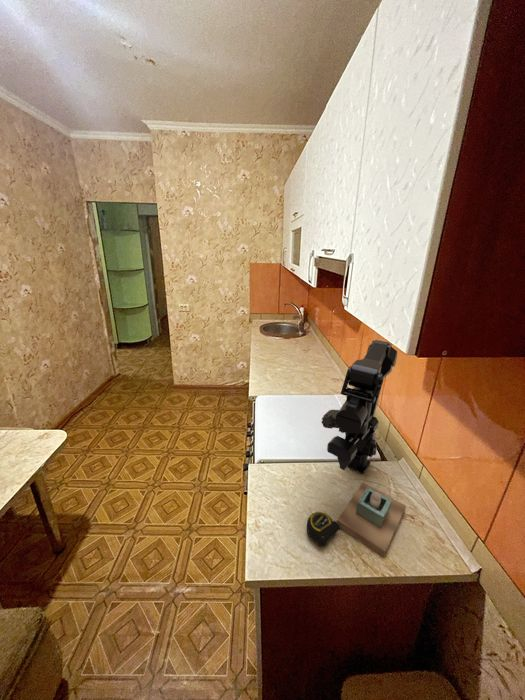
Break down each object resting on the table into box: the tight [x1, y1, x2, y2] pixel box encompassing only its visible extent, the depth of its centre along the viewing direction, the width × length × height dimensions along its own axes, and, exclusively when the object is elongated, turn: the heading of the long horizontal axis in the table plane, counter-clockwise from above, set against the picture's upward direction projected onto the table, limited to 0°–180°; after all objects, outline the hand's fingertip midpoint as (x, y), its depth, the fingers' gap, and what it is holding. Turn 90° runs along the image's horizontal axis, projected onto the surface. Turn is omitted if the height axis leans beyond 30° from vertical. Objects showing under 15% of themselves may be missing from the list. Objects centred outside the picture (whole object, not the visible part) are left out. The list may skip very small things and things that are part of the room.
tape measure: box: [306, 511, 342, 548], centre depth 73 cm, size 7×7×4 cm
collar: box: [356, 487, 392, 529], centre depth 76 cm, size 6×6×4 cm
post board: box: [336, 481, 407, 558], centre depth 76 cm, size 16×12×9 cm
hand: (350, 459), depth 80 cm, fingers open, 9 cm apart
